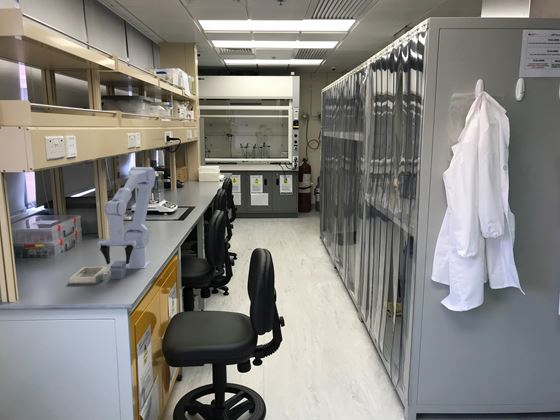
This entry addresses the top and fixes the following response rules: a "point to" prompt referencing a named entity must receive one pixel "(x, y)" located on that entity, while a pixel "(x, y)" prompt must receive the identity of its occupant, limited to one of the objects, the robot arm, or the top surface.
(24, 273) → the top surface
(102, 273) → the frame
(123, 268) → the block
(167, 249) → the top surface
